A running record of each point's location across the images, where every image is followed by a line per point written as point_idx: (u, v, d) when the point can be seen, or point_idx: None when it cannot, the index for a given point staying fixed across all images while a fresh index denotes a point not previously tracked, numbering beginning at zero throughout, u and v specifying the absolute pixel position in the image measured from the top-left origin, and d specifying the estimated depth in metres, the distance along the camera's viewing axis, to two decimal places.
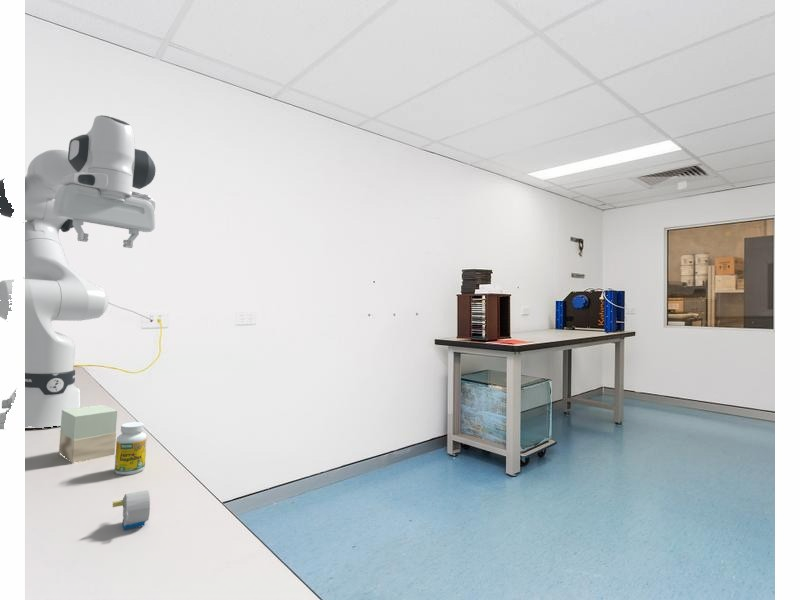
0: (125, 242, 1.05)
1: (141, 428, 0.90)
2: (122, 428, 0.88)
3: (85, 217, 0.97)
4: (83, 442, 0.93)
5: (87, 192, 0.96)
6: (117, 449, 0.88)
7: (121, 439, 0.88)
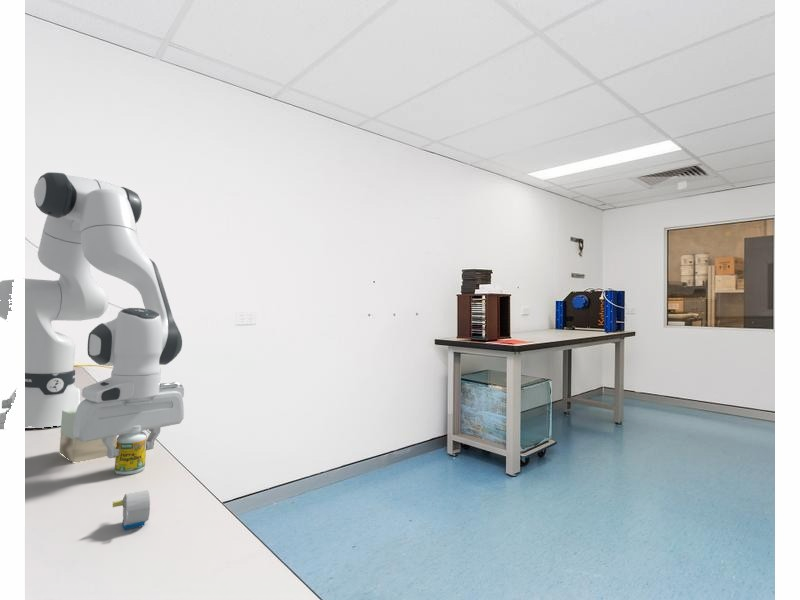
0: None
1: None
2: None
3: (109, 434, 0.85)
4: (84, 442, 0.93)
5: (111, 407, 0.84)
6: None
7: (121, 439, 0.88)
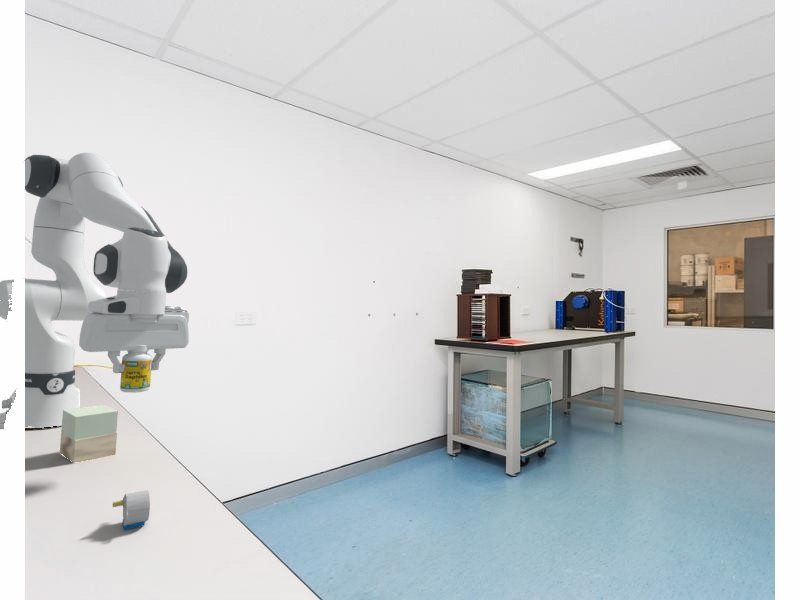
0: None
1: (146, 348, 0.90)
2: None
3: (114, 348, 0.85)
4: (84, 442, 0.93)
5: (117, 320, 0.85)
6: None
7: (126, 357, 0.88)
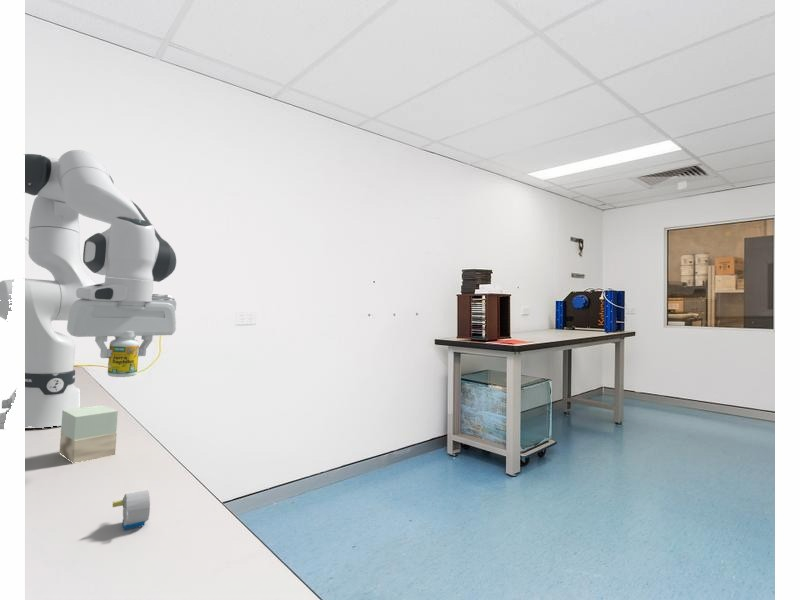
0: None
1: None
2: None
3: (102, 333, 0.88)
4: (83, 442, 0.93)
5: (104, 306, 0.87)
6: None
7: (114, 342, 0.90)
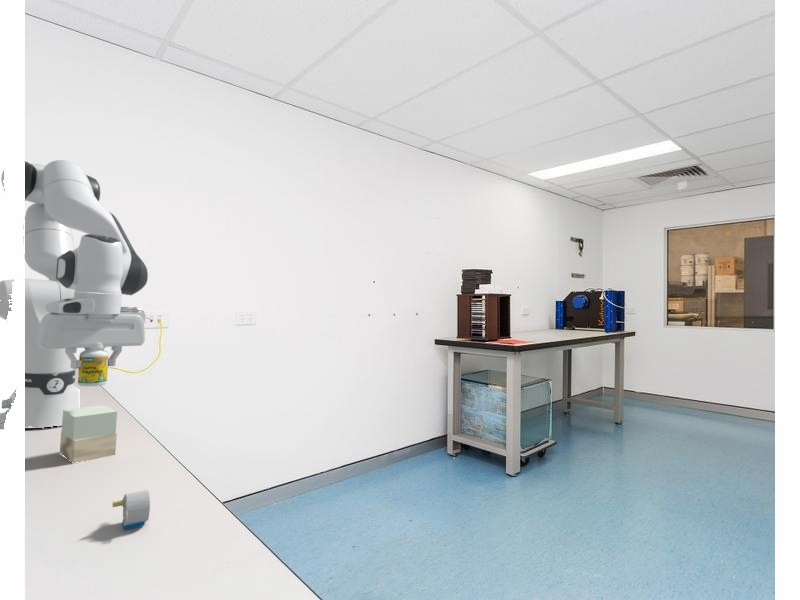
0: None
1: None
2: None
3: (71, 345, 0.93)
4: (83, 442, 0.93)
5: (73, 319, 0.92)
6: None
7: (83, 353, 0.95)
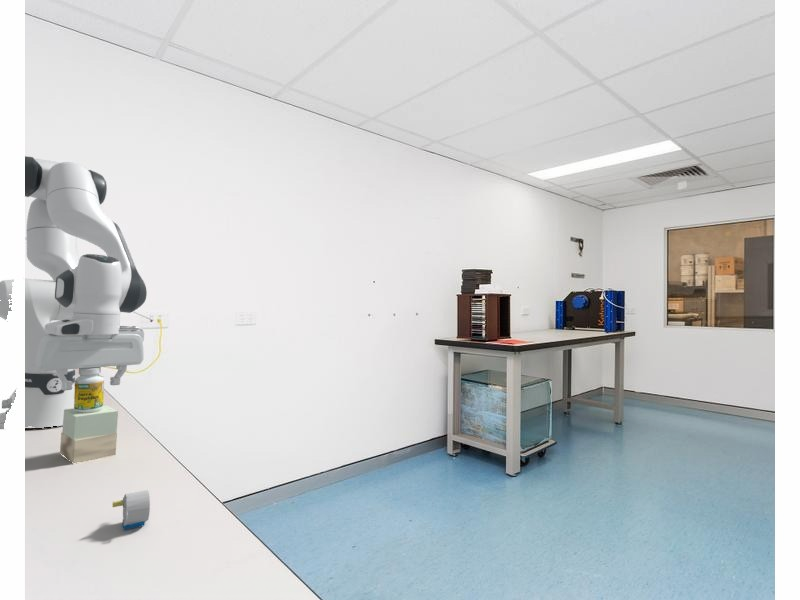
0: (112, 380, 1.01)
1: (98, 371, 0.97)
2: (79, 370, 0.95)
3: (69, 366, 0.93)
4: (84, 442, 0.93)
5: (71, 341, 0.92)
6: (75, 389, 0.95)
7: (78, 380, 0.95)
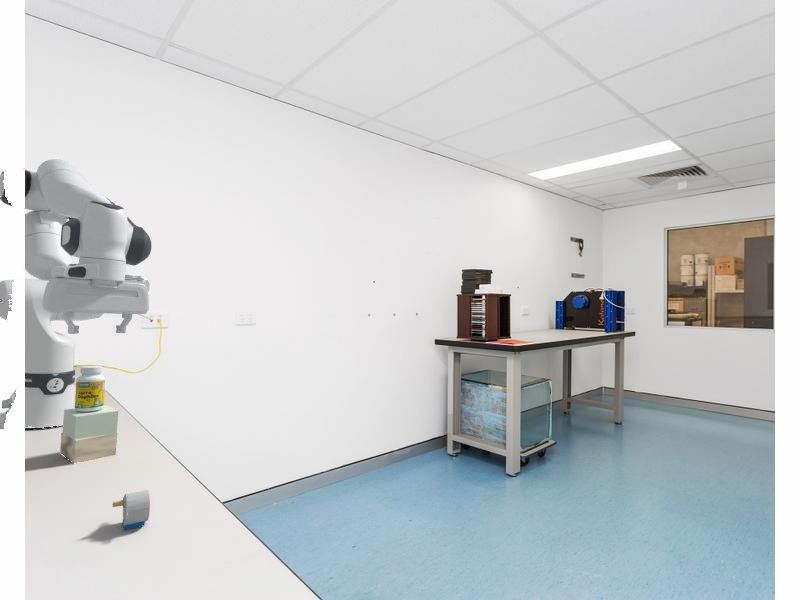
0: (118, 328, 1.01)
1: (99, 370, 0.98)
2: (81, 369, 0.96)
3: (76, 310, 0.93)
4: (84, 442, 0.93)
5: (78, 284, 0.93)
6: (76, 388, 0.96)
7: (79, 378, 0.95)
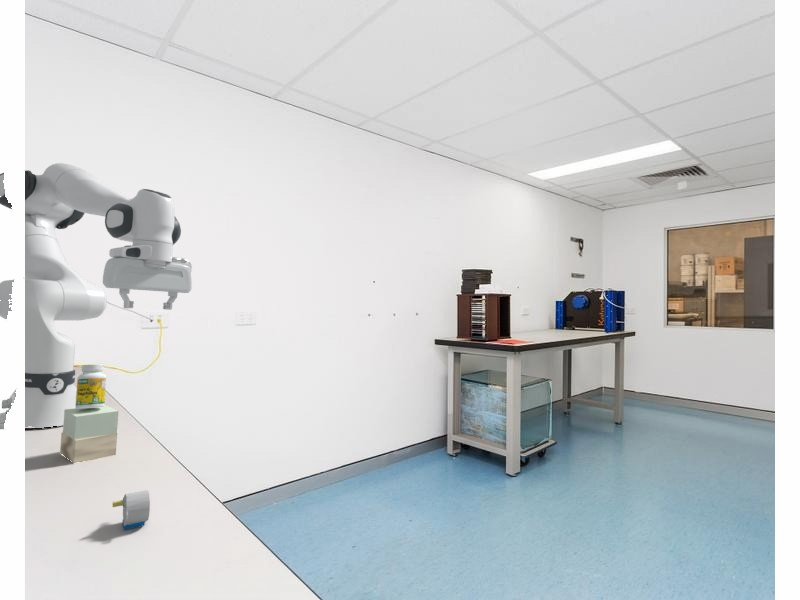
0: (165, 305, 1.12)
1: (98, 367, 0.99)
2: (82, 367, 0.98)
3: (131, 286, 1.04)
4: (84, 442, 0.93)
5: (133, 263, 1.03)
6: (77, 385, 0.97)
7: (79, 375, 0.97)
